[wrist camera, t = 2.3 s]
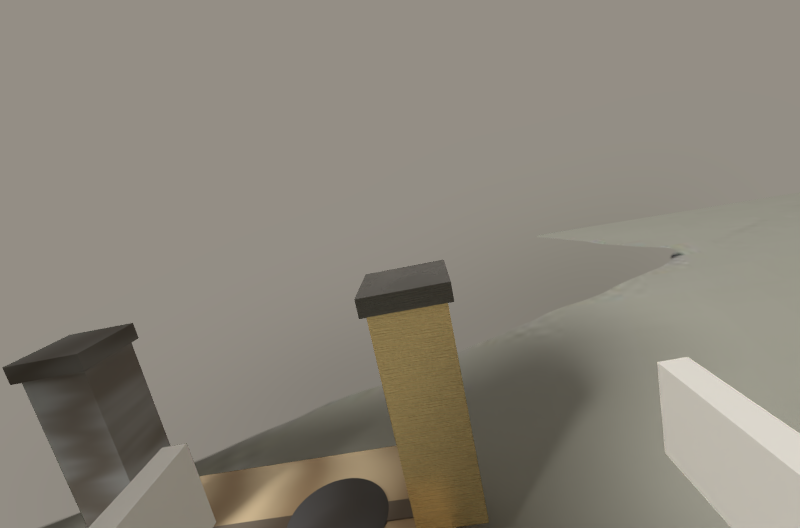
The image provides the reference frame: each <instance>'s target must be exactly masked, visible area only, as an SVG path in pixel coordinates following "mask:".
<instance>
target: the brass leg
mask: <svg viewBox="0 0 800 528" xmlns="http://www.w3.org/2000/svg"><path fill="white" fill-rule="evenodd" d="M449 302H454V298H453V292H452V287H451V282H450V278H449V275H448V272H447V269H446V266H445V263H444V260H440V261H435V262H429V263H424V264H419V265H414V266H408V267H403V268H398V269H393V270H387V271H382V272H377V273H371V274H366V275H365V278H364V280H363V282H362V284H361V286H360V288H359V291H358V293H357V295H356V297H355V304H356V308H357V312H358V316H359V319H362V318H367V322H368V326H369V331H370V335H371V339H372V343H373V348H374V351H375V356H376V360H377V364H378V369H379V373H380V377H381V381H382V386H383V390H384V394H385V398H386V402H387V407H388V411H389V415H390V419H391V424H392V428H393V432H394V436H395V441H396V445H397V449H398V453H399V457H400V462H401V466H402V470H403V474H404V479H405V483H406V487H407V491H408V496H409V500H410V504H411V508H412V512H413V517H414V521H415V525H416V528H454V527H461V526H468V525H475V524H483V523H489V520H488V515H487V509H486V504H485V499H484V493H483V488H482V483H481V477H480V472H479V467H478V461H477V456H476V451H475V445H474V440H473V435H472V429H471V424H470V419H469V413H468V408H467V403H466V397H465V392H464V387H463V381H462V376H461V371H460V365H459V360H458V355H457V350H456V345H455V339H454V333H453V328H452V323H451V318H450V312H449V307H448V303H449Z"/></svg>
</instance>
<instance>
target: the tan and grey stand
mask: <svg viewBox="0 0 800 528" xmlns="http://www.w3.org/2000/svg"><path fill="white" fill-rule="evenodd" d="M136 339H138V336H137V333H136V330H135V328H134V325H133V323H131V324H125V325H120V326H115V327H110V328H105V329H99V330H94V331H89V332H83V333H78V334H73V335H69V336H67V337H65V338H63V339H61V340H59V341H57V342H54V343H52V344H50V345H48V346H46V347H44V348H42V349H40V350H38V351H36V352H34V353H32V354H30V355H28V356H26V357H23V358H21V359H19V360H18V361H16V362H13V363H11V364H9V365H7V366H5V367H3V370H4V372H5V374H6V376H7V379H8V380H9V383H10V385H12V384H18V383H22V384H23V386H24V389H25V390H26V393H27V395H28V397H29V400H30V402H31V404H32V406H33V408H34V411H35V413H36V415H37V417H38V419H39V422H40V424H41V426H42V428H43V430H44V433H45V435H46V437H47V439H48V441H49V444H50V445H51V448H52V450H53V452H54V454H55V457H56V459H57V461H58V463H59V466H60V468H61V470H62V472H63V474H64V477H65V479H66V481H67V483H68V485H69V488H70V489H71V492H72V494H73V496H74V498H75V500H76V503H77V505H78V507H79V509H80V512H81V514H82V516H83V518H84V521H85V523H86V525H87V527H88V528H89V527H90V526H91V524H92V523H93V522H94V521H95V520H96V519H97V518H98V517H99V516H100V515H101V514H102V512H103V511H104V510H105V509H106V508H107V507H108V506H109V505H110V504H111V503H112V502H113V500H114V499H115V498H116V497H117V496H118V495H119V494H120V493H121V492H122V491H123V490H124V488H125V487H126V486H127V485H128V484H129V483H130V482H131V481H132V480H133V479H134V478H135V477H136V475H137V474H138V473H139V472H140V471H141V470H142V469H143V468H144V467H145V466H146V465H147V463H148V462H149V461H150V460H151V459H152V458H153V457H154V456H155V455H156V454H157V453H158V451H159V450H160V449H161V448H162V447H168V446H170V444H169V441H168V439H167V436H166V433H165V431H164V428H163V425H162V422H161V420H160V417H159V415H158V412H157V410H156V407H155V404H154V401H153V399H152V396H151V394H150V391H149V388H148V386H147V383H146V380H145V378H144V375H143V372H142V370H141V367H140V365H139V362H138V359H137V357H136V354H135V351H134V349H133V346H132V343H131V342H133V341H134V340H136ZM199 477H200V480H201V483H202V485H203V488H204V491H205V493H206V496H207V499H208V501H209V504H210V507H211V509H212V512H213V515H214V517H215V520H216V523H215V525H214V527H213V528H416V525H415V521H414V517H413V512H412V508H411V504H410V500H409V496H408V491H407V487H406V483H405V479H404V474H403V470H402V466H401V462H400V457H399V453H398V449H397V446H391V447H384V448H378V449H372V450H365V451H359V452H352V453H346V454H339V455H333V456H327V457H320V458H314V459H307V460H301V461H294V462H288V463H282V464H275V465H269V466H262V467H256V468H249V469H243V470H237V471H230V472H224V473H217V474H211V475H204V476H199ZM454 528H456V527H454Z"/></svg>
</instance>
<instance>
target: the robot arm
mask: <svg viewBox="0 0 800 528" xmlns="http://www.w3.org/2000/svg"><path fill="white" fill-rule="evenodd" d="M657 366H658V378H659V389H660V401H661V412H662V424H663V436H664V447H665V453H666V455H667V456H668V457H669V458H670V459H671V460H672V461H673V462H674V464H675V465H676V466H677V467H678V468H679V469H680V470H681V472H682V473H683V474H684V475H685V476H686V477H687V478H688V479H689V481H690V482H691V483H692V484H693V485H694V486H695V487H696V489H697V490H698V491H699V492H700V493H701V494H702V495H703V496H704V498H705V499H706V500H707V501H708V502H709V503H710V504H711V506H712V507H713V508H714V509H715V510H716V511H717V512H718V513H719V515H720V516H721V517H722V518H723V519H724V520H725V521H726V522H727V524H728V525H729V526H730V527H731V528H800V433H798V432H797V431H795V430H794V429H792V428H791V427H789V426H788V425H786V424H785V423H784V422H782V421H781V420H779V419H778V418H776V417H775V416H773V415H772V414H770V413H769V412H767V411H766V410H765V409H763V408H762V407H760V406H759V405H757V404H756V403H754V402H753V401H751V400H750V399H748V398H747V397H746V396H744V395H743V394H741V393H740V392H738V391H737V390H735V389H734V388H732V387H731V386H729V385H728V384H727V383H725V382H724V381H722V380H721V379H719V378H718V377H716V376H715V375H713V374H712V373H710V372H709V371H708V370H706V369H705V368H703V367H702V366H700V365H699V364H697V363H696V362H694V361H693V360H691V359H690V358H689V357H684V358H678V359H672V360H667V361H661V362H657ZM215 523H216V520H215V517H214V515H213V512H212V509H211V507H210V504H209V501H208V499H207V496H206V493H205V491H204V488H203V485H202V483H201V480H200V477H199V475H198V472H197V469H196V467H195V464H194V461H193V459H192V456H191V453H190V451H189V448H188V445H187V443H186V444H180V445H174V446H168V447H162V448H161V449H160V450H159V451H158V453H157V454H156V455H155V456H154V457H153V458H152V459H151V460H150V461H149V462H148V463H147V465H146V466H145V467H144V468H143V469H142V470H141V471H140V472H139V473H138V474H137V475H136V477H135V478H134V479H133V480H132V481H131V482H130V483H129V484H128V485H127V486H126V487H125V488H124V490H123V491H122V492H121V493H120V494H119V495H118V496H117V497H116V498H115V499H114V500H113V502H112V503H111V504H110V505H109V506H108V507H107V508H106V509H105V510H104V511H103V512H102V514H101V515H100V516H99V517H98V518H97V519H96V520H95V521H94V522H93V523H92V524H91V526H90V527H89V528H213V527H214V525H215Z"/></svg>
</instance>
